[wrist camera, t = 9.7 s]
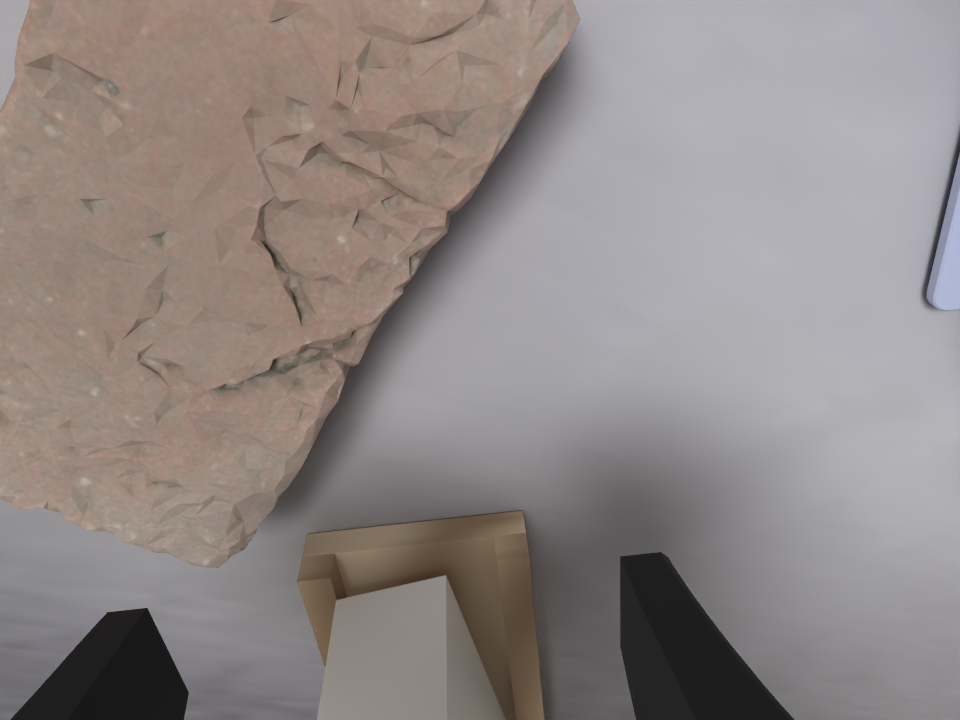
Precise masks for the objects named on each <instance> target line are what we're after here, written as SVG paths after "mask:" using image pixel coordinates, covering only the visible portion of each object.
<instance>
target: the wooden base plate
mask: <svg viewBox="0 0 960 720" xmlns="http://www.w3.org/2000/svg"><path fill="white" fill-rule="evenodd" d="M444 575H446V577H447V579H448V581H449V584H450V586H451V589H452V591H453V594H454V596H455V598H456V601H457V603H458V606H459V608H460V610H461V613H462V615H463V618H464V620H465V622H466V625H467V627H468V630H469V632H470V635H471V637H472V639H473V642H474V644H475V647H476V649H477V651H478V654H479V656H480V659H481V661H482V663H483V666H484V668H485V671H486V673H487V675H488V678H489V680H490V683H491V685H492V688H493V690H494V692H495V695H496V697H497V700H498V702H499V704H500V707H501V709H502V712H503V714H504V716H505V719H506V720H544V710H543V699H542V688H541V677H540V666H539V655H538V644H537V633H536V622H535V611H534V600H533V589H532V578H531V567H530V556H529V549H528V542H527V535H526V528H525V522H524V515H523V511H514V512H505V513H496V514H487V515H478V516H468V517H459V518H450V519H441V520H432V521H423V522H414V523H404V524H395V525H386V526H377V527H368V528H359V529H350V530H340V531H331V532H322V533H313V534H308V536H307V540H306V545H305V549H304V554H303V558H302V563H301V567H300V572H299V576H298V581H297V582H298V585H299V589H300V592H301V595H302V598H303V601H304V604H305V607H306V610H307V613H308V616H309V619H310V622H311V625H312V628H313V631H314V634H315V637H316V640H317V644H318V647H319V650H320V653H321V656H322V659H323V662H324V665H325V667H326V661H327V654H328V648H329V642H330V635H331V629H332V623H333V617H334V610H335V604H336V600H339V599H344V598H348V597H352V596H357V595H361V594H366V593H370V592H374V591H379V590H383V589H387V588H392V587H396V586H401V585H405V584H409V583H414V582H418V581H422V580H427V579H431V578H436V577H440V576H444Z"/></svg>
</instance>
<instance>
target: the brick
mask: <svg viewBox="0 0 960 720" xmlns="http://www.w3.org/2000/svg"><path fill="white" fill-rule="evenodd" d="M579 21H580V18H579V16H578V13H577V10H576V7H575V5H574V2H573V0H30V4H29V9H28V11H27V14H26V17H25V20H24V23H23V26H22V29H21V32H20V34H19V37H18V44H17V51H16V57H15V74H16V76H15V79H14V81H13V83H12V85H11V88H10V90H9V92H8V94H7V97H6V99H5V101H4V104H3V106H2V108H1V110H0V499H3V500H5V501H7V502H10V503H11V504H13V505H14V506H15V507H16V508H18V509H29V508H45V509H48V510H52V511H56V512H60V513H61V514H62V516H63V517H64V518H65V519H66V520H67V521H69V522H71V523H73V524H76V525H78V526H80V527H83V528H85V529H87V530H90V531H105V532H110V533H114V534H115V535H117V536H118V537H119V538H120V539H121V540H122V541H123V542H126V543H129V544H133V545H136V546H140V547H142V548H145V549H148V550H150V551H153V552H159V553H168V554H170V555H172V556H175V557H177V558H179V559H181V560H183V561H186V562H188V563H190V564H192V565H197V566H205V567H214V568H219V567H220V566H221V565H222V564H223V563H224V562H225V561H227V560H228V559H229V558H230V557H231V556H232V555H234V554H236V553H238V552H240V551H242V550H243V549H245V548H246V546H247V545H248V544H249V542H250V541H251V539H252V538H253V536H254V535H255V533H256V531H257V528H258V526H259V525H260V524H261V522H262V521H263V520H264V519H265V517H266V516H267V515H268V514H269V513H270V512H271V511H272V510H273V509H274V507H275V505H276V503H277V501H278V499H279V497H280V496H281V494H282V493H283V492H284V491H285V490H286V489H287V488H288V486H289V485H290V484H291V482H292V481H293V479H294V478H295V476H296V475H297V473H298V472H299V471H300V469H301V468H302V466H303V464H304V462H305V460H306V458H307V456H308V454H309V453H310V451H311V449H312V447H313V445H314V443H315V441H316V439H317V436H318V434H319V432H320V430H321V428H322V426H323V424H324V422H325V419H326V418H327V416H328V415H329V413H330V412H331V410H332V409H333V407H334V406H335V405H336V403H337V402H338V400H339V397H340V394H341V392H342V389H343V386H344V383H345V380H346V377H347V374H348V372H349V369H350V366H355V365H357V364H359V362H360V360H361V358H362V356H363V354H364V352H365V350H366V348H367V346H368V344H369V341H370V339H371V337H372V335H373V333H374V332H375V331H376V329H377V328H378V326H379V325H380V323H381V320H382V317H383V316H384V315H385V314H386V313H387V311H388V310H389V309H390V308H391V307H392V306H393V304H394V303H395V302H396V301H397V300H398V299H399V297H400V296H401V295H402V294H403V288H404V287H405V286H406V285H407V284H408V283H409V282H410V281H411V279H412V278H413V276H414V275H415V273H416V271H417V270H418V268H419V267H420V265H421V263H422V262H423V260H424V259H425V257H426V255H427V253H428V251H429V250H430V249H431V248H432V247H433V246H434V245H435V244H436V243H437V242H438V241H439V240H440V239H441V238H442V237H443V236H444V235H445V234H446V233H447V232H448V228H449V222H450V217H451V216H452V215H453V214H455V213H456V212H457V211H459V210H460V209H461V208H462V206H463V205H464V204H465V203H466V202H467V201H468V200H469V199H470V198H471V197H472V196H473V194H474V193H475V191H476V189H477V187H478V186H479V184H480V182H481V181H482V179H483V177H484V176H485V174H486V172H487V171H488V169H489V168H490V166H491V165H492V163H493V162H494V160H495V159H496V157H497V156H498V154H499V153H500V151H501V150H502V149H503V147H504V146H505V144H506V143H507V141H508V140H509V138H510V137H511V136H512V134H513V133H514V131H515V130H516V128H517V126H518V125H519V123H520V121H521V120H522V118H523V116H524V115H525V113H526V111H527V110H528V108H529V106H530V105H531V102H532V100H533V98H534V96H535V93H536V91H537V89H538V86H539V84H540V82H541V79H543V78H547V77H548V75H549V74H550V72H551V71H552V69H553V68H554V66H555V65H556V63H557V62H558V60H559V58H560V56H561V54H562V53H563V51H564V49H565V47H566V45H567V44H568V42H569V40H570V38H571V36H572V34H573V32H574V30H575V28H576V27H577V25H578V23H579Z"/></svg>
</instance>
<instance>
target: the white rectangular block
mask: <svg viewBox="0 0 960 720" xmlns="http://www.w3.org/2000/svg"><path fill="white" fill-rule="evenodd" d="M317 720H506V719H505V716H504V714H503V712H502V709H501V707H500V704H499V702H498V700H497V697H496V695H495V692H494V690H493V688H492V685H491V683H490V680H489V678H488V675H487V673H486V671H485V668H484V666H483V663H482V661H481V659H480V656H479V654H478V651H477V649H476V647H475V644H474V642H473V639H472V637H471V635H470V632H469V630H468V627H467V625H466V622H465V620H464V618H463V615H462V613H461V610H460V608H459V606H458V603H457V601H456V598H455V596H454V594H453V591H452V589H451V586H450V584H449V581H448V579H447V577H446V575H444V576H440V577H436V578H431V579H427V580H422V581H418V582H414V583H409V584H405V585H401V586H396V587H392V588H387V589H383V590H379V591H374V592H370V593H366V594H361V595H357V596H352V597H348V598H344V599H339V600H336V604H335V610H334V617H333V623H332V629H331V635H330V642H329V648H328V654H327V661H326V667H325V673H324V680H323V686H322V692H321V698H320V705H319V711H318V717H317Z"/></svg>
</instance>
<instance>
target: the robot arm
mask: <svg viewBox="0 0 960 720" xmlns="http://www.w3.org/2000/svg"><path fill="white" fill-rule="evenodd" d="M927 299H928V301H929V303H930V304H932V305H933V306H934V307H936V308H938V309H939V310H942V311H951V310H960V154H959V158H958V163H957V167H956V171H955V175H954V179H953V184H952V188H951V192H950V196H949V200H948V205H947V209H946V213H945V217H944V221H943V226H942V230H941V234H940V238H939V242H938V247H937V251H936V255H935V259H934V263H933V268H932V272H931V276H930V280H929V284H928V289H927ZM620 609H621V651H622V656H623V660H624V665H625V670H626V675H627V680H628V684H629V689H630V694H631V698H632V703H633V707H634V712H635V716H636V719H637V720H794V719H793V718H792V717H791V716H790V714H789V713H788V712H787V711H786V710H785V709H784V708H783V707H782V706H781V704H780V703H779V702H778V701H777V700H776V699H775V698H774V696H773V695H772V694H771V693H770V692H769V691H768V689H767V688H766V687H765V686H764V685H763V684H762V682H761V681H760V680H759V679H758V678H757V676H756V675H755V674H754V673H753V672H752V670H751V669H750V668H749V667H748V665H747V664H746V663H745V662H744V661H743V659H742V658H741V657H740V656H739V655H738V653H737V652H736V651H735V650H734V648H733V647H732V646H731V645H730V643H729V642H728V641H727V640H726V638H725V637H724V636H723V635H722V633H721V632H720V631H719V629H718V628H717V627H716V625H715V624H714V623H713V621H712V620H711V619H710V617H709V616H708V615H707V613H706V612H705V611H704V609H703V608H702V607H701V605H700V604H699V603H698V601H697V600H696V598H695V597H694V596H693V594H692V593H691V591H690V590H689V589H688V587H687V586H686V584H685V583H684V581H683V580H682V578H681V577H680V575H679V574H678V572H677V571H676V569H675V568H674V566H673V565H672V563H671V562H670V560H669V558H668V557H667V556H665V555H664V554H663V553H661V552H658V553H649V554H640V555H631V556H622V557H620ZM188 694H189V692H188V690H187V688H186V686H185V684H184V682H183V680H182V678H181V676H180V674H179V672H178V670H177V668H176V666H175V664H174V662H173V660H172V657H171V655H170V653H169V651H168V649H167V647H166V645H165V643H164V641H163V639H162V637H161V635H160V633H159V631H158V629H157V627H156V625H155V623H154V621H153V619H152V617H151V615H150V613H149V611H148V609H147V608H143V609H134V610H125V611H116V612H108V613H107V614H106V615H105V616H104V617H103V618H102V619H101V620H100V621H99V622H98V623H97V624H96V625H95V626H94V628H93V629H92V630H91V631H90V632H89V633H88V634H87V635H86V636H85V637H84V639H83V640H82V641H81V642H80V643H79V644H78V645H77V646H76V648H75V649H74V650H73V651H72V652H71V653H70V654H69V655H68V656H67V658H66V659H65V660H64V661H63V662H62V663H61V664H60V665H59V667H58V668H57V669H56V670H55V671H54V672H53V673H52V674H51V676H50V677H49V678H48V679H47V680H46V681H45V682H44V683H43V685H42V686H41V687H40V688H39V689H38V690H37V691H36V692H35V693H34V695H33V696H32V697H31V698H30V699H29V700H28V701H27V702H26V703H25V704H24V706H23V707H22V708H21V709H20V710H19V711H18V712H17V713H16V714H15V715H14V717H13V718H12V719H11V720H184V715H185V710H186V704H187V699H188Z"/></svg>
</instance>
